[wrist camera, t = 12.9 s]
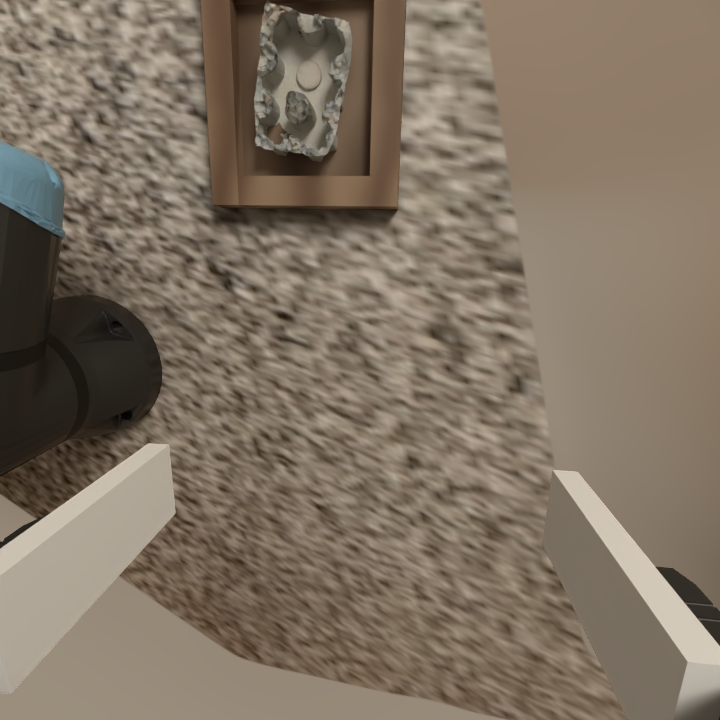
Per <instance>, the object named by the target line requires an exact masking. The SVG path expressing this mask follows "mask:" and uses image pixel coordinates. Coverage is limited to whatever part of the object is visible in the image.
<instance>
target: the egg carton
mask: <svg viewBox="0 0 720 720" xmlns="http://www.w3.org/2000/svg"><path fill="white" fill-rule="evenodd" d="M298 31H300V32H301V35H300V33H299V32H298ZM301 36H302V37H301ZM339 42H340V43H339ZM260 50H261V51H260V59H259V64H258V68H257V74H258V77H257V83H256V92H255V97H254V108H255V127H256V137H255V145H256V146H260V147H262V148H264V149H267V150H273V151H274V152H275V153H276V154H277V155H283V156H287V153H288V152H289V151H291V152H293V153H303V154H305V155H306V156H309V158H310V159H311V160H312V161H317V162H322V160H323V157H324V156H325V155H326V154H327V153H328V152H330V151H336V150H337V147H338V138H337V136H336V131H337V127H338V120H339V119H340V110H343V107H344V102H345V97H344V91H345V86H346V81H347V77H348V73H349V69H350V62H351V51H352V34H351V29H350V25H349V22H348V21H345V20H341V19H338V18H335V17H334V18H329V17H325V16H321V15H319V14H314V16H312V15H308V14H302V13H299V12H298V11H297V10H295V9H292V8H290V7H286V6H281V5H280V6H279V5H276V4H272V3H270V2H269V1H266V3H265V7H264V13H263V17H262V27H261V31H260ZM273 97H274V98H273ZM278 123H280V125H281V126H282V128H283V129H284V130H285V131H287V133H288V134H292V135H290V136H289V138H288V137H287V133H286V134H280V135H281V136H282V137H283V138H284V139H283V140H282V142H281V144H280V145H277V144H275V145H274V144H273V141H271V140H269V139H268V138H267V136H266V134H267V129H268V127H270V126H274V125H277V124H278ZM295 128H296V129H295ZM286 138H287V139H286Z"/></svg>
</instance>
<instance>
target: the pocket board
mask: <svg viewBox="0 0 720 720" xmlns="http://www.w3.org/2000/svg"><path fill="white" fill-rule="evenodd" d="M266 1H269V2H270V3H272V4H276V5H279V6H280V5H281V6H286V7H290V8H292V9H295V10H297V11H298V12H299V13H302V14H308V15H312V16H314V14H319V15H321V16H325V17H329V18H334V17H335V18H338V19H341V20H345V21H348V22H349V25H350V29H351V34H352V51H351V62H350V69H349V73H348V77H347V81H346V86H345V91H344V97H345V102H344V107H343V110H340V119H339V120H338V127H337V131H336V136H337V138H338V147H337V150H336V151H330V152H328V153H327V154H326V155H325V156H324V157H323V160H322V162H317V161H312V160H311V159H310V158H309V156H306V155H305V154H303V153H293V152H291V151H289V152H288V153H287V156H283V155H277V154H276V153H275V152H274V151H273V150H267V149H264V148H262V147H260V146H256V145H255V137H256V127H255V108H254V97H255V92H256V83H257V77H258V74H257V68H258V64H259V59H260V51H261V50H260V31H261V27H262V17H263V13H264V7H265V3H266ZM201 17H202V34H203V51H204V68H205V85H206V102H207V119H208V136H209V153H210V170H211V187H212V204H213V205H215V206H218V207H222V208H259V209H356V210H398V190H399V166H400V141H401V117H402V92H403V68H404V43H405V19H406V0H201ZM298 32H299V33H300V35H301V32H300V31H298ZM301 37H302V36H301ZM339 43H340V42H339ZM273 98H274V97H273ZM295 129H296V128H295ZM286 133H287V131H285V130H284V129H283V128H282V126H281V125H280V123H278V124H277V125H274V126H270V127H268V129H267V134H266V136H267V138H268V139H269V140H271V141H273V144H274V145H275V144H277V145H280V144H281V142H282V140H283V139H284V138H283V137H282V136H281V135H280V134H286ZM290 135H292V134H288V133H287V137H288V138H289V136H290ZM286 139H287V138H286Z"/></svg>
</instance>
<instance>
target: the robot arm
mask: <svg viewBox="0 0 720 720" xmlns="http://www.w3.org/2000/svg"><path fill="white" fill-rule="evenodd" d="M63 207H64V185H63V182H62V180H61V178H60V176H59V175H58V173H57V172H56V171H55V170H54V168H53V167H52V166H50V165H49V164H48V163H47V162H45V161H44V160H42V159H40V158H38V157H36V156H34V155H31V154H29V153H27V152H25V151H22V150H20V149H18V148H15V147H13V146H11V145H8V144H6V143H4V142H1V141H0V476H2V475H4V474H6V473H8V472H9V471H11V470H13V469H15V468H17V467H18V466H20V465H22V464H24V463H26V462H28V461H29V460H31V459H33V458H35V457H37V456H38V455H40V454H42V453H44V452H46V451H47V450H49V449H51V448H53V447H55V446H56V445H58V444H60V443H62V442H64V441H66V440H69V439H76V438H83V437H90V436H97V435H104V434H109V433H113V432H116V431H118V430H121V429H123V428H125V427H127V426H128V425H130V424H132V423H134V422H135V421H137V420H139V419H140V418H141V417H143V416H144V415H145V414H146V413H147V412H148V411H149V410H150V408H151V407H152V406H153V404H154V402H155V401H156V399H157V396H158V394H159V391H160V387H161V380H162V367H161V361H160V356H159V353H158V350H157V347H156V345H155V342H154V340H153V338H152V336H151V335H150V333H149V332H148V330H147V329H146V327H145V326H144V325H143V324H142V322H141V321H140V320H139V319H138V318H137V317H136V316H135V315H134V314H132V313H131V312H130V311H129V310H127V309H126V308H124V307H123V306H121V305H119V304H118V303H116V302H113V301H111V300H108V299H105V298H102V297H98V296H89V295H82V296H73V297H64V298H59V299H55V300H53V294H54V288H55V281H56V274H57V267H58V260H59V254H60V247H61V240H62V238H64V237H65V232H64V231H63V229H62V223H63ZM175 513H176V511H175V501H174V491H173V481H172V471H171V460H170V450H169V445H166V444H151V443H148V444H147V445H146V446H144V447H143V448H141V449H140V450H139V451H137V452H136V453H134V454H133V455H132V456H130V457H129V458H127V459H126V460H125V461H123V462H122V463H120V464H119V465H117V466H116V467H115V468H113V469H112V470H110V471H109V472H108V473H106V474H105V475H103V476H102V477H101V478H99V479H98V480H96V481H95V482H94V483H92V484H91V485H89V486H88V487H86V488H85V489H84V490H82V491H81V492H79V493H78V494H77V495H75V496H74V497H72V498H71V499H70V500H68V501H67V502H65V503H64V504H63V505H61V506H60V507H58V508H57V509H55V510H54V511H53V512H51V513H50V514H48V515H45V516H43V517H41V518H39V519H37V520H35V521H32V522H30V523H28V524H26V525H24V526H22V527H21V528H19V529H18V530H16V531H15V532H13V533H12V534H11V535H9V536H8V537H6V538H5V539H4V541H3V542H0V693H6V694H11V693H12V692H13V691H14V690H15V689H16V688H17V687H18V686H19V685H20V684H21V682H22V681H23V680H24V679H25V678H26V677H27V676H28V675H29V674H30V673H31V672H32V670H33V669H34V668H35V667H36V666H37V665H38V664H39V663H40V662H41V661H42V659H43V658H44V657H45V656H46V655H47V654H48V653H49V652H50V651H51V650H52V648H53V647H54V646H55V645H56V644H57V643H58V642H59V641H60V640H61V638H62V637H63V636H64V635H65V634H66V633H67V632H68V631H69V630H70V628H72V626H73V625H74V624H75V623H76V622H77V621H78V620H79V619H80V618H81V617H82V616H83V614H84V613H85V612H86V611H87V610H88V609H89V608H90V607H91V606H92V604H93V603H94V602H95V601H96V600H97V599H98V598H99V597H100V596H101V594H102V593H103V592H104V591H105V590H106V589H107V588H108V587H109V586H110V585H111V584H112V583H113V581H114V580H115V579H116V578H117V577H118V576H119V575H120V574H121V573H122V572H123V571H124V569H125V568H126V567H127V566H128V565H129V564H130V563H131V562H132V561H133V560H134V558H135V557H136V556H137V555H138V554H139V553H140V552H141V551H142V550H143V549H144V547H145V546H146V545H147V544H148V543H149V542H150V541H151V540H152V539H153V538H154V537H155V535H156V534H157V533H158V532H159V531H160V530H161V529H162V528H163V527H164V526H165V524H166V523H167V522H168V521H169V520H170V519H171V518H172V517H173V516H174V515H175ZM542 544H543V546H544V548H545V550H546V552H547V554H548V556H549V558H550V561H551V563H552V565H553V567H554V569H555V571H556V573H557V575H558V577H559V579H560V581H561V583H562V585H563V587H564V589H565V592H566V594H567V596H568V598H569V600H570V602H571V604H572V606H573V608H574V610H575V612H576V614H577V616H578V618H579V620H580V623H581V625H582V627H583V629H584V631H585V633H586V635H587V637H588V639H589V641H590V643H591V645H592V647H593V649H594V651H595V653H596V656H597V658H598V660H599V662H600V664H601V666H602V668H603V670H604V672H605V674H606V676H607V678H608V680H609V682H610V685H611V687H612V689H613V691H614V693H615V695H616V697H617V699H618V701H619V703H620V705H621V707H622V709H623V711H624V713H625V716H626V718H627V720H720V611H719V610H718V609H717V608H715V607H713V604H712V602H711V601H710V600H709V599H708V598H707V597H706V596H705V595H704V593H703V592H702V591H701V590H700V589H699V588H698V587H697V586H696V585H695V584H694V583H693V582H691V581H690V580H688V579H687V578H686V577H684V576H683V575H681V574H680V573H679V572H677V571H676V570H674V569H673V568H664V567H655V566H654V565H653V564H652V562H651V561H650V560H649V559H648V558H647V556H646V555H645V554H644V553H643V552H642V550H641V549H640V548H639V547H638V545H637V544H636V543H635V542H634V540H633V539H632V538H631V537H630V535H629V534H628V533H627V532H626V531H625V530H624V528H623V527H622V526H621V525H620V523H619V522H618V521H617V520H616V518H615V517H614V516H613V515H612V513H611V512H610V511H609V510H608V509H607V507H606V506H605V505H604V504H603V502H602V501H601V500H600V499H599V498H598V496H597V495H596V494H595V493H594V491H593V490H592V489H591V488H590V486H589V485H588V484H587V483H586V482H585V480H584V479H583V478H582V477H581V475H580V474H579V473H578V472H574V471H560V470H553V472H552V479H551V486H550V493H549V500H548V507H547V514H546V522H545V529H544V536H543V543H542Z"/></svg>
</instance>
